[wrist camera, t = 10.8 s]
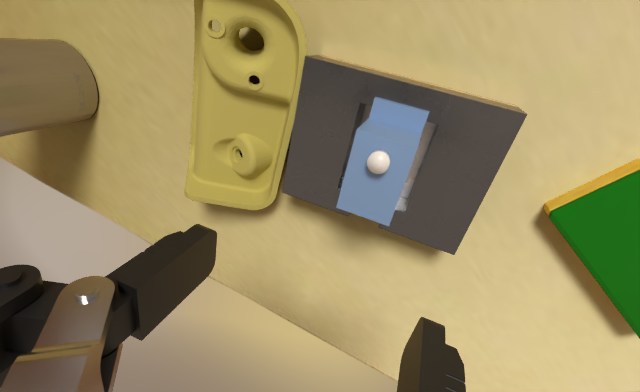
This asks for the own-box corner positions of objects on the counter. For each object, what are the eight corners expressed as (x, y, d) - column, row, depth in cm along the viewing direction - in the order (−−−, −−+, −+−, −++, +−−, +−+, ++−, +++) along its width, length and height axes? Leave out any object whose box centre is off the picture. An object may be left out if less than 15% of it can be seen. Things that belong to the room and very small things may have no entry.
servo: (355, 187, 30) (328, 229, 23) (382, 92, 26) (359, 108, 19) (395, 201, 30) (380, 249, 23) (430, 105, 25) (426, 126, 18)
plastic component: (272, 213, 34) (171, 197, 31) (274, 175, 40) (190, 159, 37) (323, 1, 23) (173, -46, 20) (316, -7, 29) (200, -45, 26)
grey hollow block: (298, 177, 33) (282, 192, 30) (322, 55, 28) (305, 55, 24) (452, 231, 30) (454, 255, 27) (515, 105, 24) (527, 114, 21)
